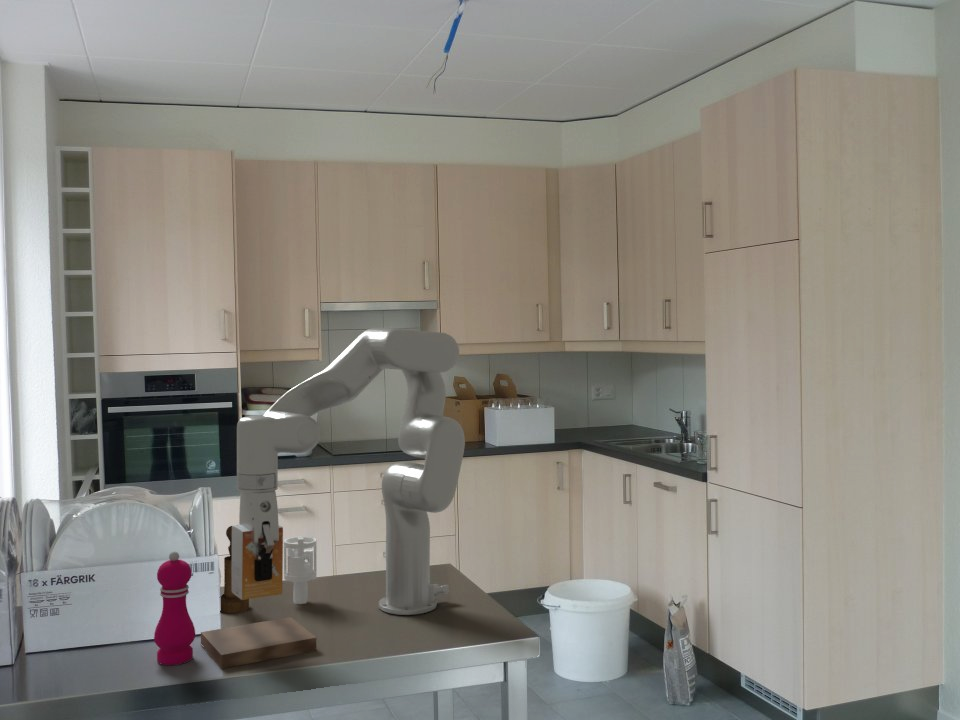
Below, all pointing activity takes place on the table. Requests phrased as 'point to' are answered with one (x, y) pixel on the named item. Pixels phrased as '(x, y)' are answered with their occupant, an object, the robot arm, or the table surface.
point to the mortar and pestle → (228, 599)
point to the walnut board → (257, 642)
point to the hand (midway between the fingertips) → (257, 574)
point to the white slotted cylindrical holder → (299, 565)
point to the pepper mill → (174, 613)
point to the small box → (245, 566)
